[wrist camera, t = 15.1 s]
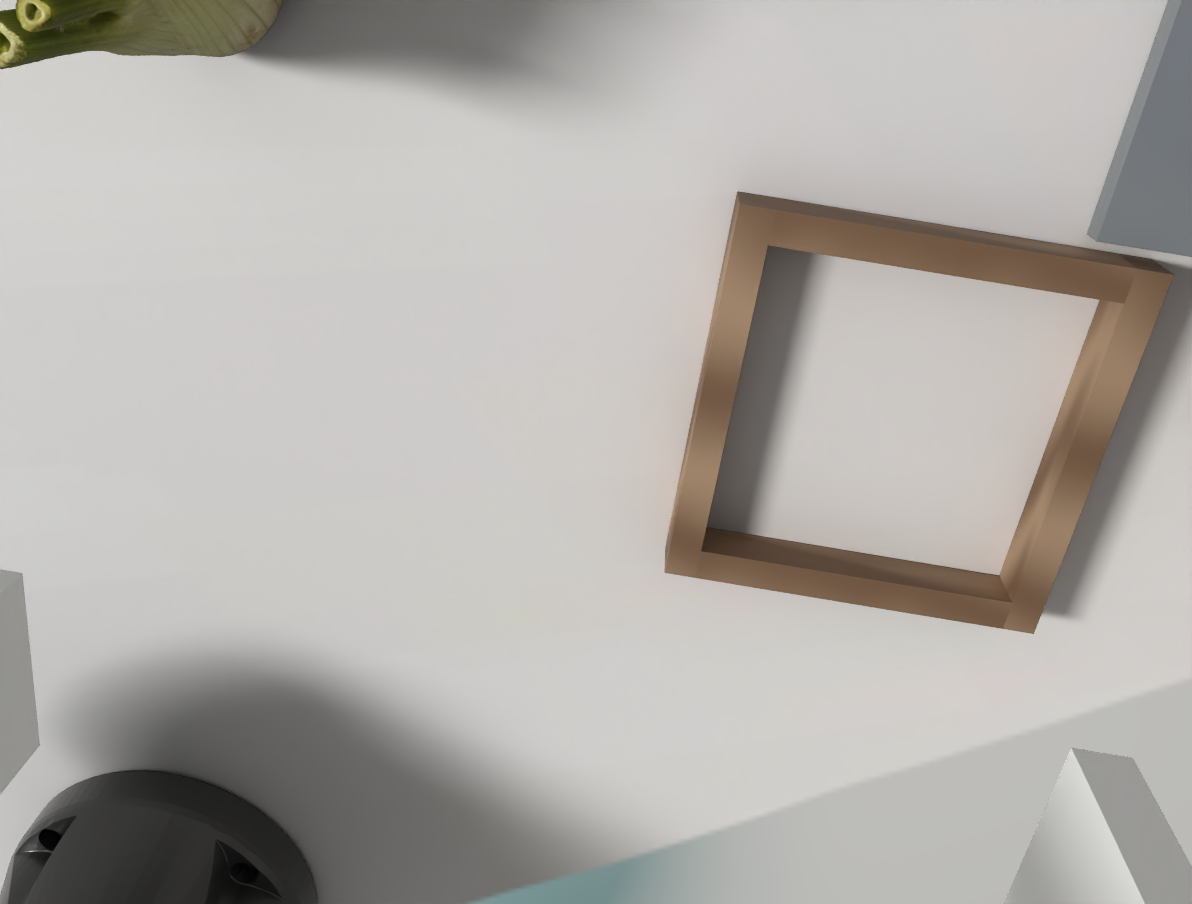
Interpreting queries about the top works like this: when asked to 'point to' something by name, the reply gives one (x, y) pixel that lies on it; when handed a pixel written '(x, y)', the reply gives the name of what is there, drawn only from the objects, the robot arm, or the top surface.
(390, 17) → the top surface
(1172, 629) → the top surface
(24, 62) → the fennel bulb
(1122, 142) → the slate coaster
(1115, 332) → the brown wooden square frame
